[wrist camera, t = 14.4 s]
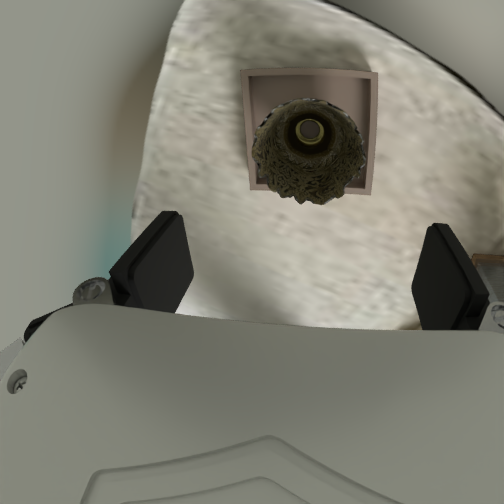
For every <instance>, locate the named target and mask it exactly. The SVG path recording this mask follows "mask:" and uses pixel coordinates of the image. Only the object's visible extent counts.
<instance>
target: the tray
mask: <svg viewBox="0 0 504 504" xmlns="http://www.w3.org/2000/svg"><path fill="white" fill-rule="evenodd" d="M240 72H241V84H242V96H243V108H244V120H245V132H246V144H247V157H248V169H249V182H250V190H270V189H269V187H268V186H267V177H259V176H258V165H257V163H256V162H255V161H254V160H253V158H252V145H253V142H254V139H255V137H254V134H255V131H256V129H257V127H258V126H260V125H261V124H262V122H263V121H264V119H265V117H266V116H267V115H269V113H270V112H271V110H272V109H273V108H274V107H276V106H278V105H280V104H283V103H285V102H288V101H290V100H293V99H297V98H312V99H319V100H325V101H327V102H329V103H330V104H333V105H335V106H337V107H339V108H340V109H342V110H343V111H345V112H346V113H347V114H348V115H349V116H350V118H351V119H352V120H353V121H354V122H355V124H356V126H357V130H358V131H359V133H361V135H362V137H363V139H364V143H362V144H363V149H364V152H365V156H366V163H365V166H363V167H362V168H361V169H360V170H361V174H360V177H359V178H357V177H356V178H355V177H354V178H353V179H352V182H351V183H350V184H347V185H346V186H345V190H344V191H345V193H344V194H359V195H371V189H372V180H373V169H374V158H375V145H376V130H377V107H378V73H376V72H368V71H357V70H345V69H328V68H264V69H247V70H240ZM301 133H302V135H303V136H304V137H306V138H314V137H316V136H317V135H318V133H319V127H318V125H317V124H316V123H315V122H313V121H306V122H304V123H303V124H302V126H301Z"/></svg>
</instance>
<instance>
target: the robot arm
mask: <svg viewBox="0 0 504 504" xmlns="http://www.w3.org/2000/svg"><path fill="white" fill-rule="evenodd" d="M109 273H110V276H111V277H110V279H109V280H107V279H105V278H102V277H95V278H91V279H88V280H86V281H84V282H83V283H81V284H80V285H79V286H78V287H77V288H76V289H75V291H74V293H73V303H71V304H69V305H67V306H64V307H62V308H60V309H58V310H55V311H53V312H51V313H49V314H46V315H44V316H42V317H39V318H37V319H35V320H33V321H31V323H30V324H29V326H28V327H27V329H26V330H25V333H24V340H22V339H21V338H19V339H17V340H16V341H14V342H13V343H12V344H10V345H9V346H8V347H7V348H5V349H4V350H2V351H1V352H0V504H504V303H503V302H498V301H497V302H492V303H490V301H489V299H488V298H489V295H490V293H489V291H488V289H487V288H486V286H485V284H484V282H483V280H482V278H481V277H480V275H479V273H478V271H477V270H476V268H475V266H474V265H473V263H472V261H471V260H470V258H469V256H468V255H467V253H466V251H465V250H464V248H463V247H462V245H461V243H460V242H459V240H458V239H457V237H456V236H455V234H454V233H453V231H452V230H451V228H450V227H449V225H448V224H442V223H433V224H432V226H429V227H428V228H427V231H426V235H425V239H424V243H423V247H422V251H421V255H420V258H419V262H418V265H417V269H416V272H415V275H414V278H413V282H412V288H411V289H412V294H413V298H414V301H415V304H416V308H417V311H418V315H419V319H420V322H421V326H422V330H369V329H342V328H323V327H306V326H292V325H278V324H266V323H255V322H244V321H234V320H225V319H216V318H207V317H199V316H191V315H183V314H175V312H176V310H177V308H178V306H179V304H180V302H181V300H182V298H183V296H184V295H185V293H186V291H187V289H188V287H189V285H190V283H191V281H192V279H193V276H194V270H193V265H192V261H191V256H190V251H189V247H188V242H187V237H186V232H185V227H184V222H183V217H182V215H179V214H178V212H177V211H162V212H161V213H160V214H159V215H158V216H157V217H156V218H155V219H154V220H153V221H152V223H151V224H150V225H149V226H148V227H147V228H146V229H145V230H144V231H143V232H142V234H141V235H140V236H139V237H138V238H137V239H136V240H135V241H134V243H133V244H132V245H131V246H130V247H129V248H128V249H127V251H126V252H125V253H124V254H123V255H122V256H121V258H120V259H119V260H118V261H117V262H116V263H115V265H114V266H113V267H112V268H111V269H110V271H109Z"/></svg>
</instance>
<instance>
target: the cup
mask: <svg viewBox="0 0 504 504" xmlns="http://www.w3.org/2000/svg"><path fill="white" fill-rule="evenodd" d="M306 121H313V122H315V123H316V124H317V125H318V127H319V133H318V135H317V136H316V137H314V138H306V137H304V136H303V135H302V133H301V126H302V124H303V123H304V122H306ZM254 137H255V139H254V142H253V145H252V158H253V160H254V161H255V162H256V163H257V165H258V176H259V177H267V186H268V187H269V189H270V190H271V191H273V192H277V193H278V194H279V195H280V197H281V198H287V197H289V198H291V197H292V196H294V198H295V200H296V201H297V202H298V203H299V204H303V203H304V202H305V201H306V200H307V201H311V202H312V203H313V204H319V205H324V204H326V203H328V202H329V201H330V200H332V199H333V198H335V197H336V198H340V197H342V196H343V195H344V193H345V191H344V190H345V186H346V185H347V184H350V183H351V182H352V179H353V178H354V177H355V178H356V177H357V178H359V177H360V174H361V170H360V169H361V168H362V167H363V166H365V163H366V156H365V152H364V149H363V144H362V143H364V139H363V137H362V135H361V133H359V131H358V130H357V126H356V124H355V122H354V121H353V120H352V119H351V118H350V116H349V115H348V114H347V113H346V112H345V111H343V110H342V109H340V108H339V107H337V106H335V105H333V104H330V103H329V102H327V101H325V100H319V99H312V98H297V99H293V100H290V101H288V102H285V103H283V104H280V105H278V106H276V107H274V108H273V109H272V110H271V112H270V113H269V115H267V116H266V117H265V119H264V121H263V122H262V124H261V125H260V126H258V127H257V129H256V131H255V134H254Z"/></svg>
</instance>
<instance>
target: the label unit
mask: <svg viewBox="0 0 504 504" xmlns="http://www.w3.org/2000/svg"><path fill="white" fill-rule="evenodd" d="M471 261H472V263H473V265H474V266H475V268H476V270H477V271H478V273H479V275H480V277H481V278H482V280H483V282H484V284H485V286H486V288H487V289H488V291H489V293H490V295H489V298H488V299H489V301H490V303H492V302H497V301H498V302H503V303H504V256H497V255H484V254H473V257H472V259H471Z"/></svg>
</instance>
